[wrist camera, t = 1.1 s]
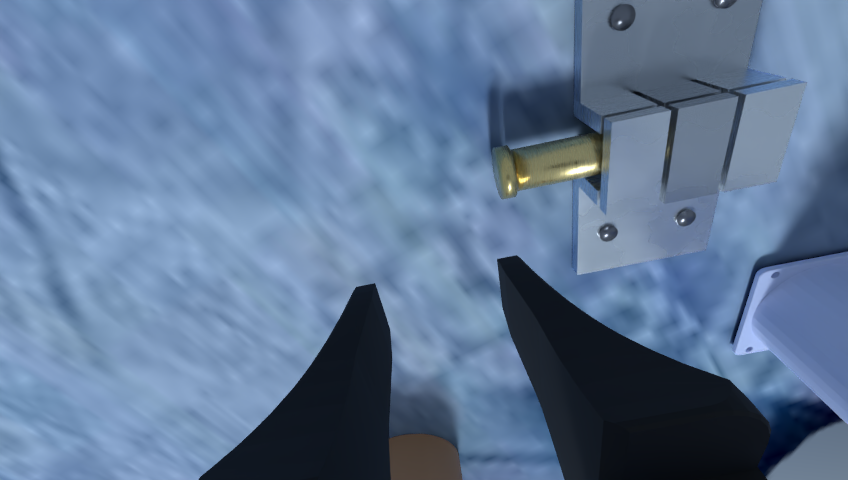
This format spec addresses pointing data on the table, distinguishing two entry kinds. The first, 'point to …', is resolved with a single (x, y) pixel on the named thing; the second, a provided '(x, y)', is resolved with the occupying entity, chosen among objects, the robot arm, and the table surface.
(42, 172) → the table surface
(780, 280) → the robot arm
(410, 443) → the bracket
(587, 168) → the pin
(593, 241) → the hinge
